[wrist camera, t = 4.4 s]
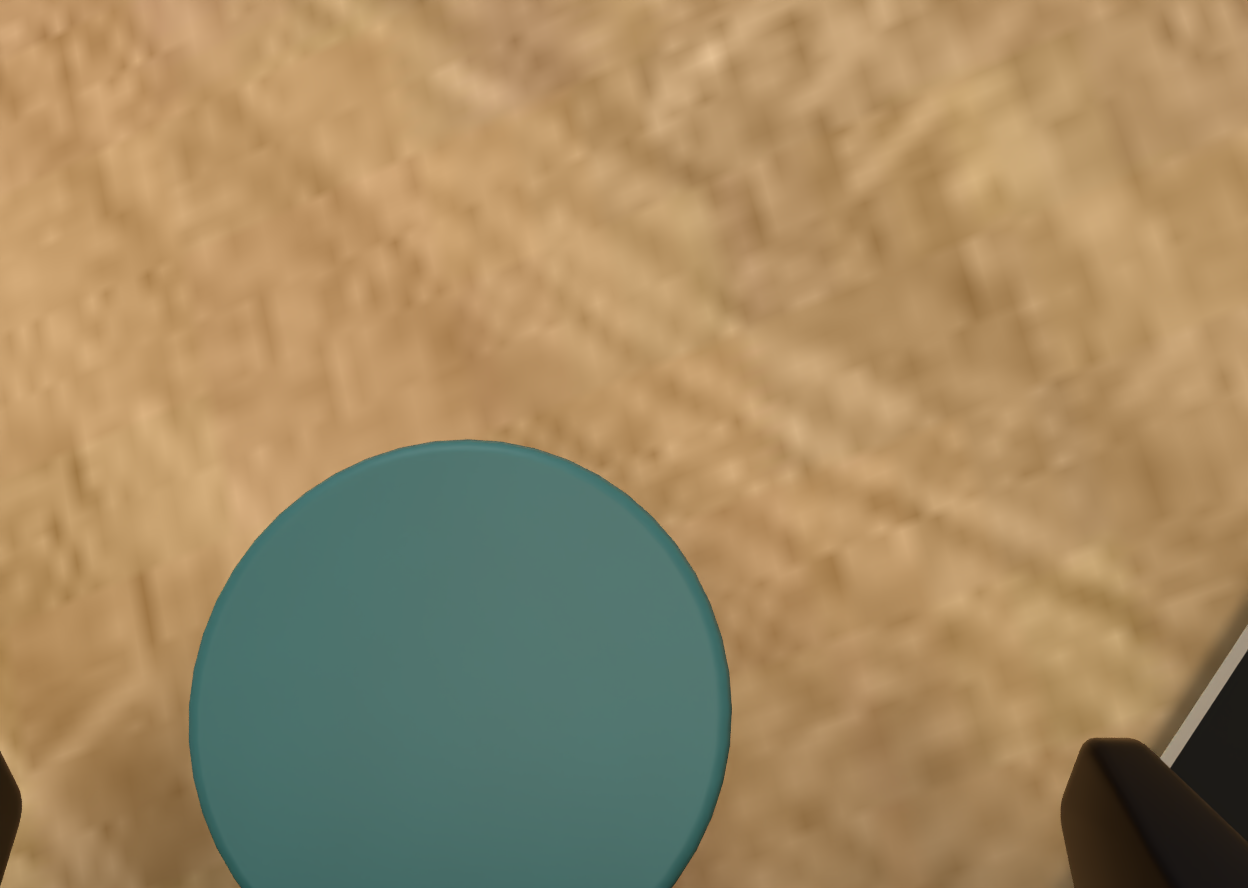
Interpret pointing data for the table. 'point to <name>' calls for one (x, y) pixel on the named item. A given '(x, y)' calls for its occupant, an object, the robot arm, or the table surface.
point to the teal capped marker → (460, 684)
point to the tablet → (1218, 741)
